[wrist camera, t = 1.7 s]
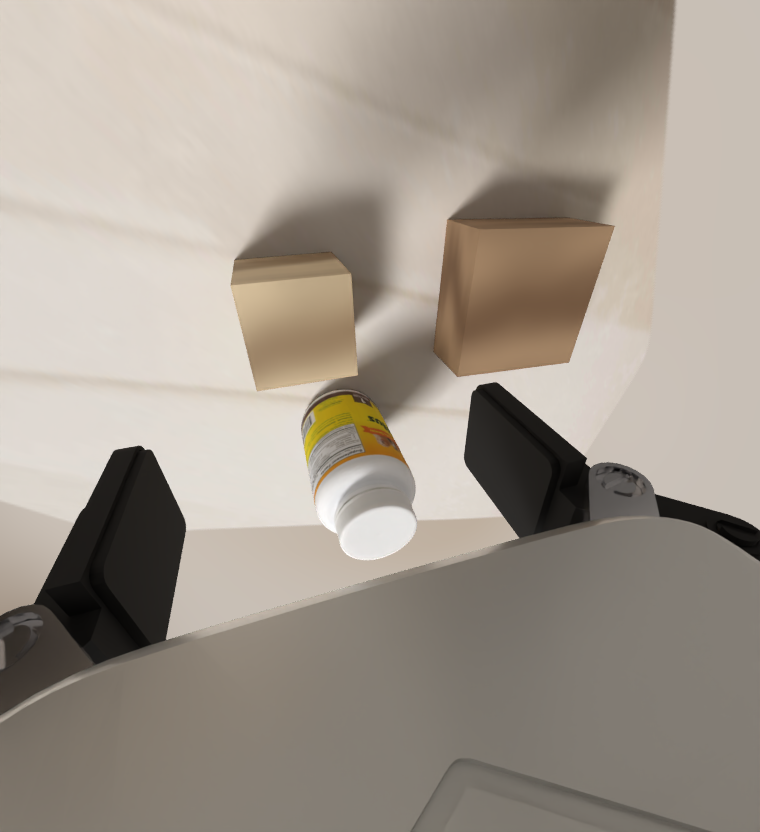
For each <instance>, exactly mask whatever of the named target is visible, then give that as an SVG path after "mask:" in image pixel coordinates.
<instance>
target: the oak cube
mask: <svg viewBox="0 0 760 832" xmlns="http://www.w3.org/2000/svg"><path fill="white" fill-rule="evenodd" d="M231 289H232V293H233V297H234V301H235V305H236V309H237V313H238V317H239V321H240V325H241V329H242V333H243V337H244V341H245V345H246V349H247V353H248V357H249V361H250V365H251V369H252V373H253V377H254V381H255V385H256V389H257V391H262V390H268V389H275V388H281V387H287V386H294V385H300V384H306V383H312V382H319V381H325V380H331V379H338V378H344V377H350V376H357V375H358V369H357V354H356V339H355V324H354V308H353V293H352V278H351V273H350V272H349V271H348V270H347V268H346V267H345V266H344V265H343V264H342V263H341V262H340V261H339V260H338V258H337V257H336V256H335V255H334V254H333V253H332V252H323V253H311V254H299V255H287V256H275V257H263V258H251V259H239V260H234V267H233V273H232V280H231Z"/></svg>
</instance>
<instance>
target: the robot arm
mask: <svg viewBox="0 0 760 832" xmlns="http://www.w3.org/2000/svg"><path fill="white" fill-rule="evenodd" d="M464 460H465V464H466V466H467V467H468V469H469V470H470V472H471V473H472V474H473V476H474V477H475V478H476V480H477V481H478V482H479V484H480V485H481V486H482V488H483V489H484V490H485V492H486V493H487V495H488V496H489V497H490V499H491V500H492V501H493V503H494V504H495V505H496V507H497V508H498V509H499V511H500V512H501V514H502V515H503V516H504V518H505V519H506V520H507V522H508V523H509V524H510V526H511V527H512V528H513V530H514V531H515V533H516V534H517V535H518V537H519V539H515V540H512V541H508V542H505V543H501V544H497V545H494V546H490V547H487V548H483V549H480V550H476V551H472V552H469V553H465V554H462V555H458V556H454V557H451V558H448V559H444V560H441V561H437V562H433V563H429V564H426V565H423V566H419V567H415V568H412V569H408V570H405V571H401V572H398V573H394V574H391V575H387V576H384V577H380V578H377V579H373V580H370V581H366V582H363V583H359V584H356V585H353V586H349V587H345V588H342V589H338V590H335V591H331V592H328V593H324V594H321V595H317V596H314V597H311V598H307V599H303V600H300V601H297V602H293V603H290V604H286V605H283V606H279V607H276V608H273V609H269V610H266V611H262V612H259V613H256V614H252V615H249V616H245V617H242V618H238V619H234V620H231V621H228V622H224V623H221V624H218V625H215V626H211V627H208V628H205V629H201V630H198V631H195V632H192V633H188V634H185V635H182V636H178V637H175V638H172V639H169V640H166V635H167V630H168V624H169V618H170V614H171V608H172V603H173V597H174V592H175V587H176V581H177V576H178V570H179V564H180V559H181V554H182V549H183V543H184V538H185V532H186V524H185V519H184V517H183V515H182V513H181V510H180V508H179V506H178V504H177V502H176V500H175V498H174V496H173V494H172V491H171V489H170V487H169V485H168V483H167V481H166V479H165V477H164V475H163V472H162V470H161V468H160V466H159V464H158V462H157V460H156V458H155V456H154V454H153V452H152V451H151V450H144V448H143V447H142V446H135V447H129V448H123V449H118V450H115V451H114V452H113V453H112V455H111V457H110V459H109V461H108V463H107V465H106V467H105V469H104V471H103V473H102V475H101V477H100V479H99V481H98V483H97V485H96V487H95V489H94V491H93V493H92V495H91V497H90V499H89V501H88V503H87V505H86V507H85V508H84V509H83V510H82V511H81V513H80V514H79V516H78V518H77V520H76V522H75V524H74V526H73V528H72V530H71V532H70V534H69V536H68V538H67V540H66V542H65V544H64V546H63V548H62V550H61V552H60V554H59V555H58V558H57V559H56V561H55V564H54V565H53V567H52V569H51V572H50V573H49V575H48V577H47V579H46V581H45V583H44V585H43V587H42V589H41V591H40V593H39V595H38V597H37V599H36V601H35V603H34V604H32V605H27V606H22V607H19V608H16V609H13V610H11V611H8V612H6V613H4V614H3V615H1V616H0V832H760V530H758V529H757V528H756V527H754V526H753V525H751V524H749V523H748V522H746V521H744V520H741V519H739V518H736V517H733V516H731V515H728V514H724V513H721V512H717V511H713V510H710V509H706V508H703V507H699V506H696V505H692V504H688V503H685V502H681V501H677V500H674V499H670V498H667V497H663V496H660V495H656V494H654V489H653V487H652V485H651V483H650V482H649V481H648V479H647V478H646V477H645V476H643V475H642V474H641V473H639V472H638V471H636V470H634V469H632V468H630V467H627V466H624V465H621V464H617V463H608V462H607V463H599V464H596V465H594V466H593V467H591V468H590V467H589V466H587V465H586V464H585V462H586V460H587V458H586V457H585V456H584V455H582V454H581V453H580V452H579V451H578V450H577V449H575V448H574V447H573V446H572V445H571V444H569V443H568V442H567V441H566V440H565V439H564V438H562V437H561V436H560V435H559V434H558V433H556V432H555V431H554V430H553V429H552V428H551V427H549V426H548V425H547V424H546V423H545V422H543V421H542V420H541V419H540V418H539V417H538V416H536V415H535V414H534V413H533V412H532V411H530V410H529V409H528V408H527V407H526V406H525V405H523V404H522V403H521V402H520V401H519V400H517V399H516V398H515V397H514V396H513V395H512V394H510V393H509V392H508V391H507V390H506V389H504V388H503V387H502V386H501V385H500V384H498V383H497V382H494V383H488V384H483V385H479V386H478V387H477V388H476V390H475V391H473V392H472V396H471V404H470V412H469V420H468V428H467V436H466V445H465V453H464Z"/></svg>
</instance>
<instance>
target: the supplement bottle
mask: <svg viewBox="0 0 760 832" xmlns="http://www.w3.org/2000/svg"><path fill="white" fill-rule="evenodd" d="M301 431H302V438H303V444H304V450H305V455H306V461H307V466H308V471H309V476H310V482H311V487H312V493H313V498H314V503H315V508H316V512H317V515H318V517H319V519H320V521H321V522H322V523H323V525H324V526H325V527H327V528H328V529H329V530H331V531H333V532H335V533H337V534H338V538H339V542H340V545H341V548H342V549H343V551H344V552H345V553H346V554H347V555H348V556H350V557H353V558H355V559H359V560H374V559H379V558H383V557H386V556H388V555H391V554H393V553H395V552H397V551H398V550H400V549H401V548H402V547H404V546H405V545H406V544H407V543H408V542H409V541H410V540H411V538H412V537H413V535H414V533H415V531H416V528H417V519H416V516H415V513H414V511H413V509H412V503H413V500H414V496H415V481H414V478H413V475H412V473H411V471H410V468H409V467H408V465H407V463H406V461H405V459H404V457H403V455H402V454H401V451H400V449H399V447H398V446H397V444H396V442H395V440H394V438H393V436H392V434H391V433H390V431H389V429H388V427H387V425H386V423H385V421H384V419H383V417H382V415H381V413H380V412H379V410H378V408H377V406H376V405H375V403H374V402H373V401H372V400H371V399H370V398H369V397H367V396H366V395H364V394H362V393H360V392H357V391H354V390H335V391H331V392H328V393H326V394H324V395H322V396H320V397H319V398H317V399H316V400H315V401H314V402H313V403H312V404H311V405H310V406H309V407H308V409H307V410H306V412H305V414H304V416H303V419H302V424H301Z"/></svg>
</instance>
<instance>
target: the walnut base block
mask: <svg viewBox="0 0 760 832" xmlns="http://www.w3.org/2000/svg"><path fill="white" fill-rule="evenodd" d="M614 227H615V226H612V225H606V224H601V223H595V222H589V221H584V220H578V219H573V218H513V219H455V220H447V227H446V237H445V246H444V255H443V265H442V274H441V284H440V293H439V303H438V312H437V322H436V331H435V340H434V350H433V352H434V353H435V354H436V355H437V356H438V357H439V358H440V359H441V360H442V361H443V362H444V363H445V364H446V365H447V366H448V367H449V369H450V370H451V371H452V372H453V373H454V374H455V375H456V376H457V377H461V376H469V375H476V374H484V373H492V372H499V371H507V370H515V369H522V368H530V367H538V366H546V365H553V364H561V363H569V361H570V358H571V355H572V352H573V349H574V346H575V343H576V340H577V337H578V334H579V331H580V328H581V325H582V322H583V319H584V316H585V313H586V310H587V307H588V304H589V301H590V298H591V295H592V292H593V289H594V286H595V283H596V280H597V277H598V274H599V271H600V268H601V265H602V262H603V259H604V257H605V254H606V251H607V248H608V245H609V242H610V239H611V236H612V233H613V230H614Z"/></svg>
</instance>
